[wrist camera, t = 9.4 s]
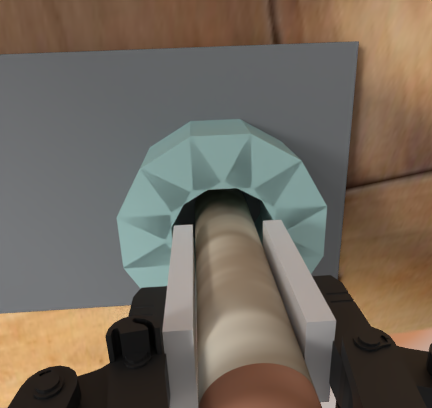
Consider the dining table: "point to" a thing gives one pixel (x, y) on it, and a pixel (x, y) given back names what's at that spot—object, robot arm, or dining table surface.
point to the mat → (146, 150)
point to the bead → (216, 179)
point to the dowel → (242, 315)
